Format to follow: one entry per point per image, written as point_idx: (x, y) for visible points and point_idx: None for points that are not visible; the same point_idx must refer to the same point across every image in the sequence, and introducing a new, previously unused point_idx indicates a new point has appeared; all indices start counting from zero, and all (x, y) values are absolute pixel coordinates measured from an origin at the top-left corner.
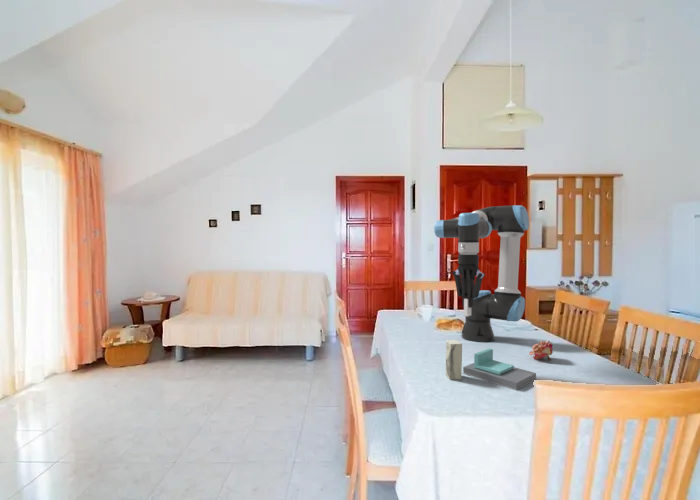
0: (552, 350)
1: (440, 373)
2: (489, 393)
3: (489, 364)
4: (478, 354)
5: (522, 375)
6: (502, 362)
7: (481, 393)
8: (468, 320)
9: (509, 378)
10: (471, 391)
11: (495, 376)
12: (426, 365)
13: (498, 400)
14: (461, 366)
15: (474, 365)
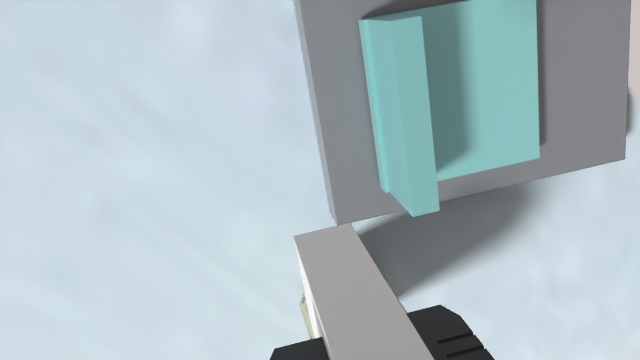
0: None
1: (268, 310)
2: (547, 273)
3: (437, 110)
4: (437, 206)
5: (601, 42)
6: (461, 1)
7: (528, 300)
8: None
9: (579, 141)
10: (493, 321)
11: (522, 180)
12: (126, 304)
13: (601, 289)
14: (405, 310)
15: (389, 190)
